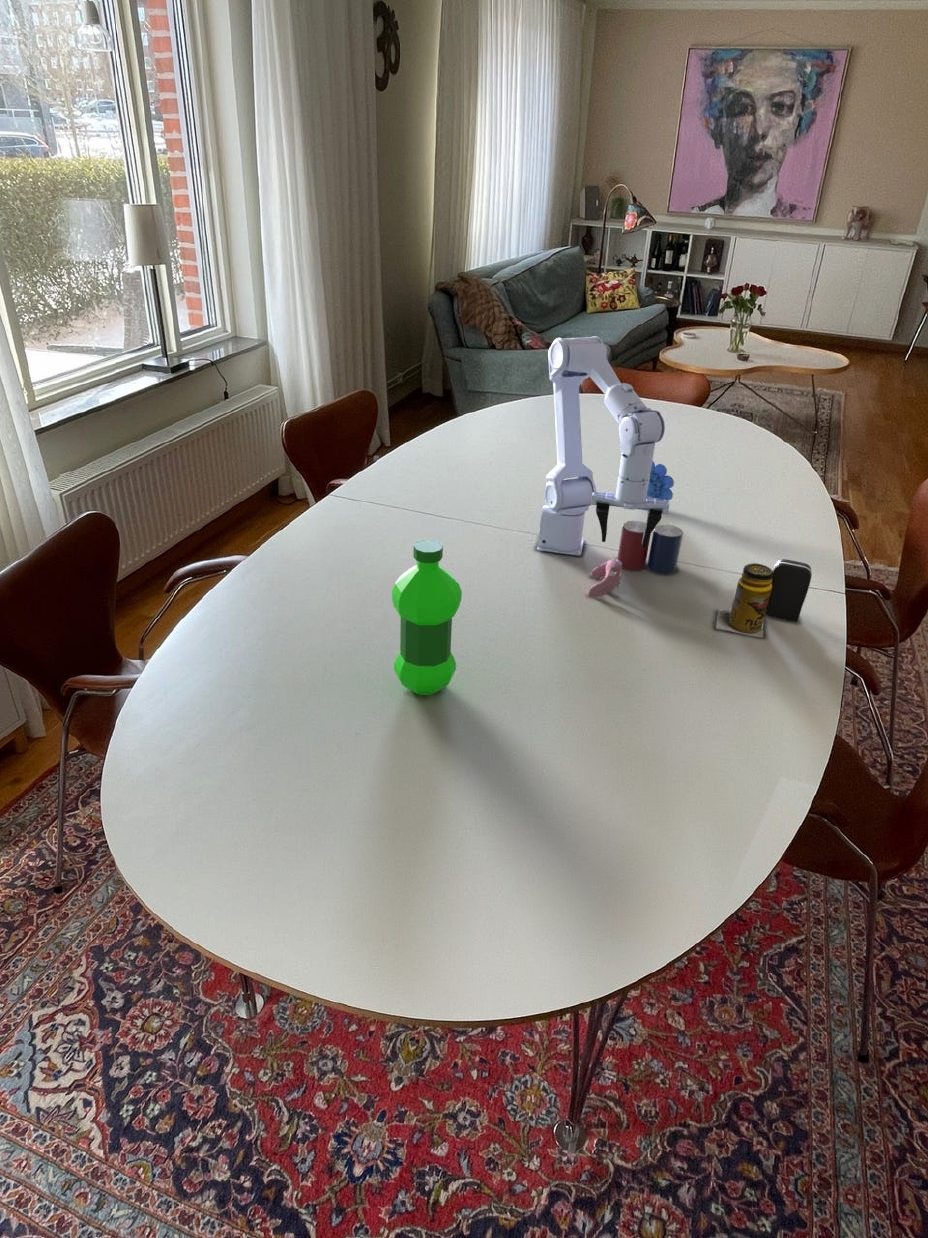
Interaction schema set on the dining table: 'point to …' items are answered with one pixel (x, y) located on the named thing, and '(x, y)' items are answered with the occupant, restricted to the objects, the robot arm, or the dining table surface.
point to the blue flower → (660, 483)
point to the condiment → (748, 602)
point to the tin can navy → (665, 549)
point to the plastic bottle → (426, 621)
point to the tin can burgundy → (633, 546)
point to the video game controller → (606, 577)
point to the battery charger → (788, 589)
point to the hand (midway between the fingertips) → (623, 542)
